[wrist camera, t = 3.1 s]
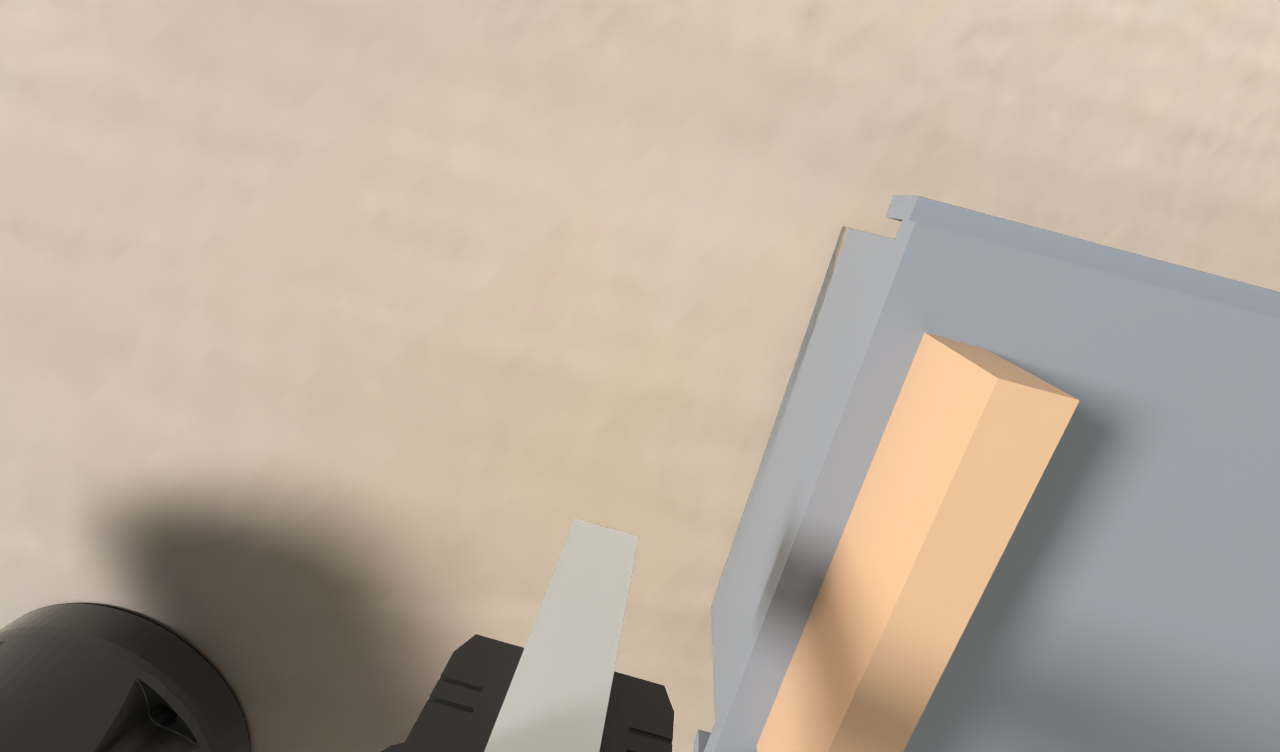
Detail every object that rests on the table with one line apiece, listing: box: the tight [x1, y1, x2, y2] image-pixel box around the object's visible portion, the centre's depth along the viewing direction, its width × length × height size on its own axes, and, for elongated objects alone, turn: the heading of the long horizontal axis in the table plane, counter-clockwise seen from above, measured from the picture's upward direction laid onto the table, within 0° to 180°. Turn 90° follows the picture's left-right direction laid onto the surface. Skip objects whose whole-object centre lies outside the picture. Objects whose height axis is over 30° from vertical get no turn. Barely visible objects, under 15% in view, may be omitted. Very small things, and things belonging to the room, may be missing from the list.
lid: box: [694, 195, 1280, 752], centre depth 17 cm, size 19×20×6 cm
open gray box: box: [711, 227, 895, 720], centre depth 23 cm, size 18×18×8 cm
